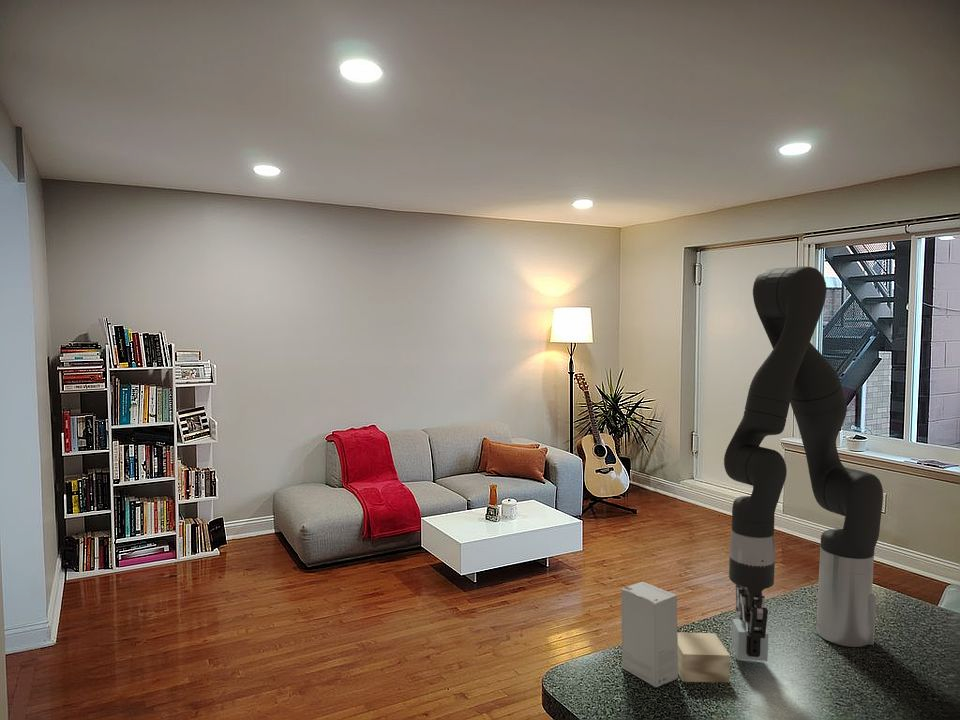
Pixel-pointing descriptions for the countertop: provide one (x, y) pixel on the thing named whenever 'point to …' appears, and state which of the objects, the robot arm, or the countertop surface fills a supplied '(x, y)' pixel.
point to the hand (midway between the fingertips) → (749, 647)
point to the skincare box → (649, 633)
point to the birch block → (702, 658)
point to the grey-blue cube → (741, 638)
